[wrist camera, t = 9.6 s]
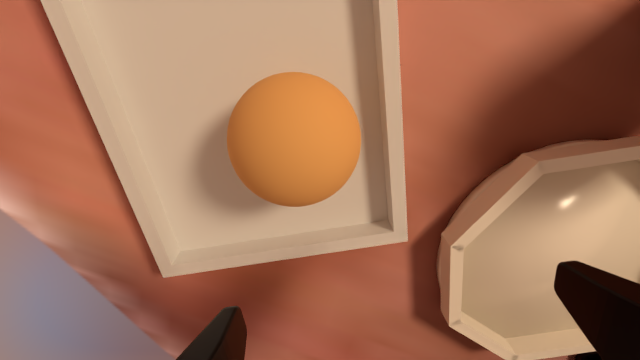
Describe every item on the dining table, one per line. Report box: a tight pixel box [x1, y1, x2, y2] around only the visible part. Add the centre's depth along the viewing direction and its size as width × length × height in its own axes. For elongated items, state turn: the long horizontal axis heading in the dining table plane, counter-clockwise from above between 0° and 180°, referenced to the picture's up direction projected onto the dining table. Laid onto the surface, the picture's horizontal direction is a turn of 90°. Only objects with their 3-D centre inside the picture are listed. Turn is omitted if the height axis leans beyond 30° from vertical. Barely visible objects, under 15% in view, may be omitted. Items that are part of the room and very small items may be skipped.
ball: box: [227, 72, 361, 207], centre depth 14 cm, size 6×6×6 cm
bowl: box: [436, 136, 640, 360], centre depth 20 cm, size 16×16×2 cm
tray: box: [40, 0, 408, 278], centre depth 15 cm, size 20×15×2 cm
